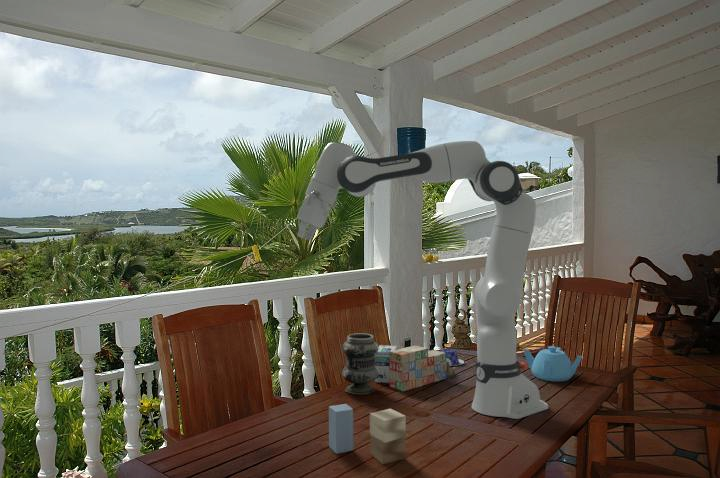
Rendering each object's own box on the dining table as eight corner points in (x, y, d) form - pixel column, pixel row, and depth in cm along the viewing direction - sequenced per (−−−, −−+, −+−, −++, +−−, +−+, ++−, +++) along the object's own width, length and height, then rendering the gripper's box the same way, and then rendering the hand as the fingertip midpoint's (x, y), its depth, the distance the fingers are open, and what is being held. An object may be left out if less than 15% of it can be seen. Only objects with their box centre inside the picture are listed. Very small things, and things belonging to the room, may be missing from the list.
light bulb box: (394, 383, 188) (394, 352, 188) (374, 382, 190) (374, 351, 189) (398, 375, 199) (398, 345, 198) (379, 374, 200) (379, 344, 200)
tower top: (390, 429, 134) (390, 408, 134) (405, 437, 129) (405, 415, 129) (369, 434, 131) (369, 413, 130) (384, 442, 126) (384, 421, 125)
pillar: (345, 443, 138) (345, 403, 137) (353, 450, 134) (353, 409, 133) (329, 446, 136) (328, 406, 135) (336, 453, 132) (335, 412, 131)
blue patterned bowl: (432, 366, 211) (432, 353, 211) (433, 359, 223) (433, 346, 223) (464, 368, 209) (464, 354, 209) (464, 360, 221) (464, 347, 221)
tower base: (392, 449, 134) (392, 429, 134) (405, 459, 128) (405, 438, 128) (370, 454, 131) (370, 433, 131) (382, 464, 126) (382, 442, 126)
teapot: (585, 381, 189) (585, 350, 189) (545, 385, 186) (545, 353, 186) (559, 370, 204) (559, 341, 204) (522, 373, 201) (522, 343, 200)
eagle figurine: (427, 369, 202) (436, 370, 193) (436, 351, 204) (445, 352, 195) (444, 379, 203) (454, 382, 194) (453, 362, 204) (463, 363, 196)
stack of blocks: (433, 375, 197) (433, 341, 197) (446, 379, 193) (446, 344, 192) (389, 387, 184) (388, 350, 184) (402, 391, 179) (401, 354, 179)
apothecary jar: (366, 398, 173) (366, 341, 172) (334, 392, 179) (334, 337, 179) (385, 388, 183) (385, 334, 182) (354, 383, 189) (354, 330, 189)
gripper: (324, 192, 152) (305, 239, 152) (336, 203, 172) (320, 244, 172) (303, 185, 153) (284, 231, 153) (318, 196, 173) (301, 237, 173)
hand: (303, 238), depth 163 cm, fingers open, 8 cm apart
